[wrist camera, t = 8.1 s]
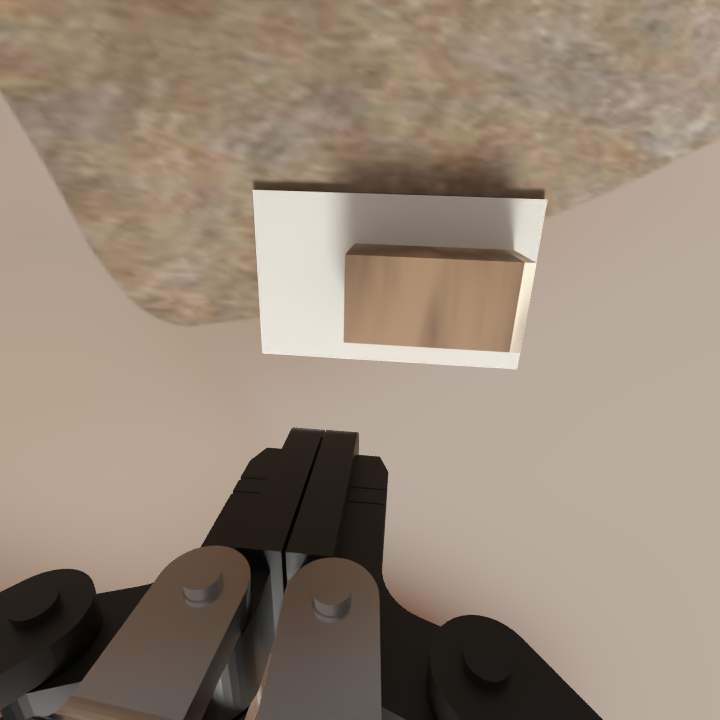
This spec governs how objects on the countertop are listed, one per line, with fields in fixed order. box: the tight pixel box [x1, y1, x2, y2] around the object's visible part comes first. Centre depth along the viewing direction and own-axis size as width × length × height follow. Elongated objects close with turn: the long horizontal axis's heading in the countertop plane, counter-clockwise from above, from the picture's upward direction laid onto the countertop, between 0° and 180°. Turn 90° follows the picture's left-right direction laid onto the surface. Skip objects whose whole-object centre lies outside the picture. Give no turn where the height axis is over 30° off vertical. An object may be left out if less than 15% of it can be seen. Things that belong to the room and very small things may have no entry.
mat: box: [253, 190, 547, 369], centre depth 29 cm, size 18×11×1 cm, turn 88°
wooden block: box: [344, 243, 537, 353], centre depth 26 cm, size 5×5×10 cm
